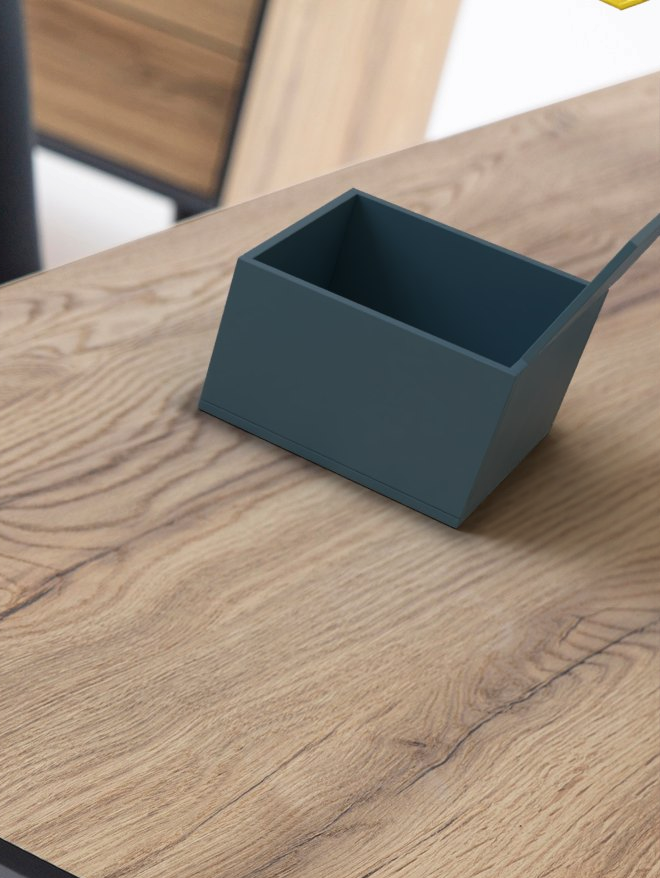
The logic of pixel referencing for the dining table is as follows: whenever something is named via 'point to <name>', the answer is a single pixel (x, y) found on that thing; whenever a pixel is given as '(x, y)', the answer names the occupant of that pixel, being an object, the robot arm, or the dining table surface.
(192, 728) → the dining table surface
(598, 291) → the flap
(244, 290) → the carton
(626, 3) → the watch
